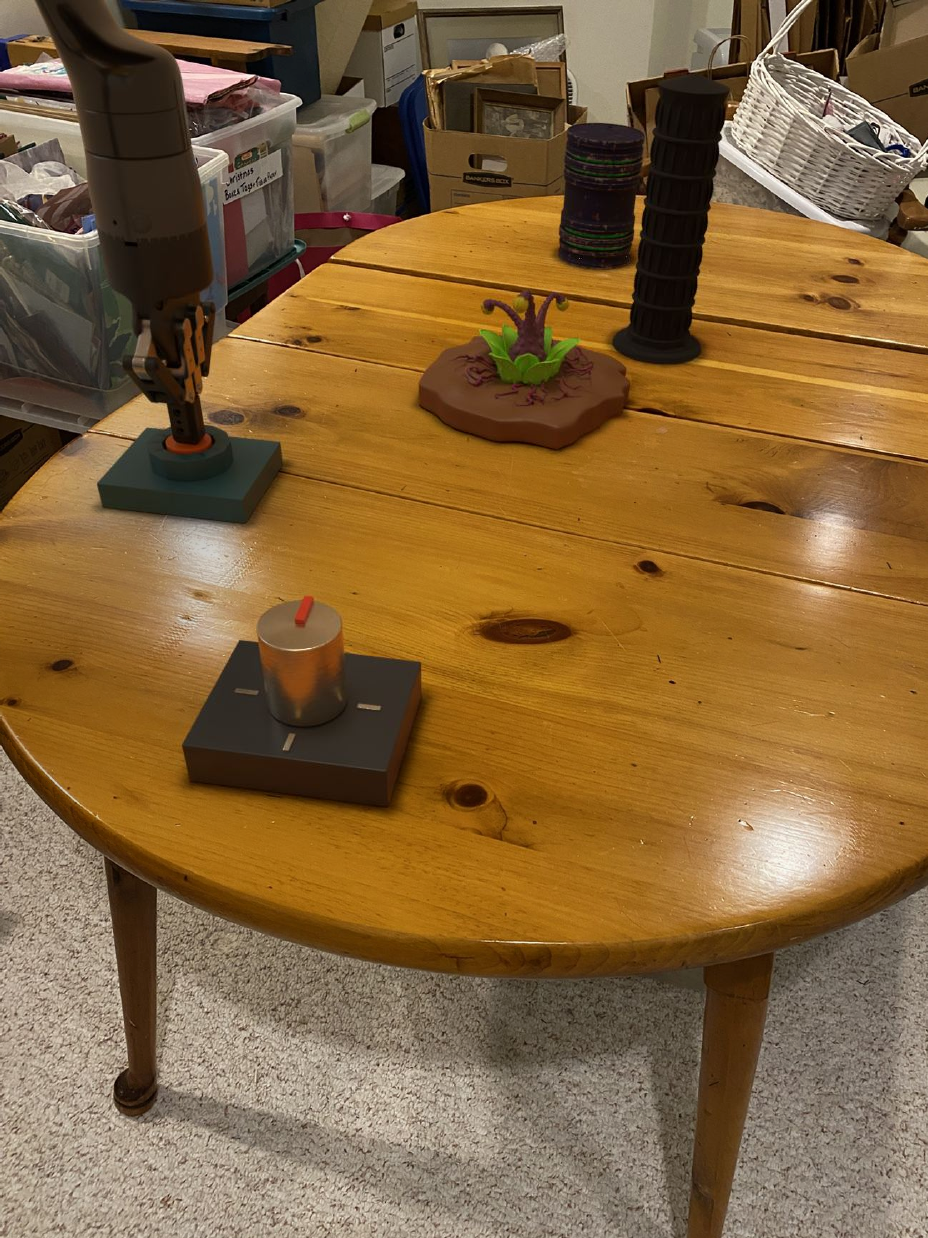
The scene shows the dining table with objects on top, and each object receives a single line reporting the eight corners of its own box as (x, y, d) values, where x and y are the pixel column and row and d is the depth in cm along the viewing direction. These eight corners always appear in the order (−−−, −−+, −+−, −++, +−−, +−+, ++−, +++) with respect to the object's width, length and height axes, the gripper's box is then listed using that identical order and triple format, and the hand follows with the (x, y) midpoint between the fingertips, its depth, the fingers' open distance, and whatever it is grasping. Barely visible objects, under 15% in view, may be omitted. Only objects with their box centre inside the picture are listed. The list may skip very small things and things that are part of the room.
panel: (189, 781, 61) (180, 742, 58) (244, 674, 68) (238, 637, 66) (388, 807, 60) (386, 769, 58) (421, 696, 67) (421, 659, 65)
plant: (385, 413, 98) (381, 295, 91) (476, 344, 112) (479, 237, 104) (578, 464, 92) (590, 343, 85) (649, 385, 106) (665, 275, 99)
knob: (338, 731, 60) (331, 650, 56) (257, 723, 60) (245, 641, 56) (355, 678, 64) (349, 599, 60) (279, 671, 64) (268, 591, 60)
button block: (102, 507, 83) (91, 462, 80) (151, 449, 90) (142, 407, 88) (245, 523, 82) (239, 479, 79) (283, 464, 90) (278, 422, 87)
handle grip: (616, 361, 110) (708, 365, 110) (649, 81, 93) (758, 87, 93) (608, 326, 118) (694, 329, 118) (638, 60, 100) (738, 66, 101)
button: (162, 467, 83) (158, 447, 82) (178, 446, 86) (175, 427, 85) (204, 472, 83) (201, 452, 82) (220, 451, 86) (217, 432, 85)
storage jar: (624, 273, 131) (639, 145, 122) (550, 263, 133) (559, 136, 123) (636, 249, 139) (650, 127, 129) (565, 240, 140) (574, 119, 130)
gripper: (138, 186, 78) (176, 400, 89) (56, 241, 68) (111, 474, 79) (234, 195, 77) (260, 409, 88) (165, 251, 67) (205, 485, 78)
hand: (190, 439), depth 84 cm, fingers closed
